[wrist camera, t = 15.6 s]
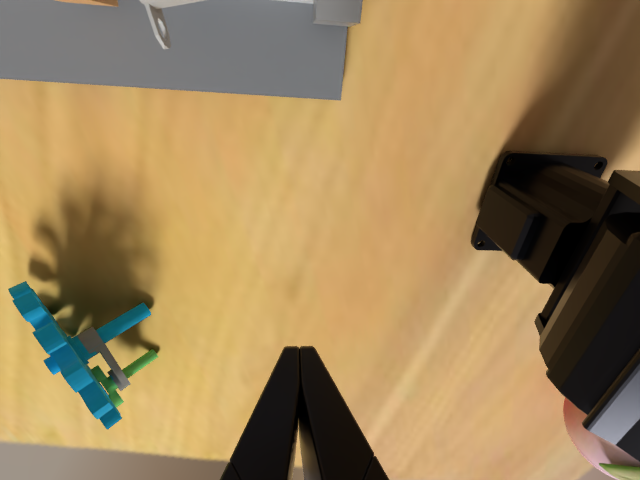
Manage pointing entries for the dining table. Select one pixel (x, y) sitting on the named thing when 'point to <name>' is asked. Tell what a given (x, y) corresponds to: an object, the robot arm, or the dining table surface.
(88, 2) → the tall tan wooden block
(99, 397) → the gear
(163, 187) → the dining table surface
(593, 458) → the decorative fruit
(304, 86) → the rail
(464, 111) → the dining table surface
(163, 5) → the electric motor
